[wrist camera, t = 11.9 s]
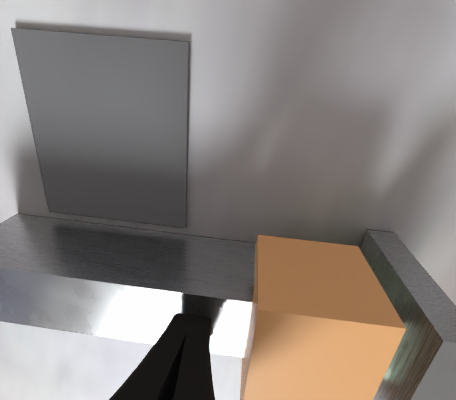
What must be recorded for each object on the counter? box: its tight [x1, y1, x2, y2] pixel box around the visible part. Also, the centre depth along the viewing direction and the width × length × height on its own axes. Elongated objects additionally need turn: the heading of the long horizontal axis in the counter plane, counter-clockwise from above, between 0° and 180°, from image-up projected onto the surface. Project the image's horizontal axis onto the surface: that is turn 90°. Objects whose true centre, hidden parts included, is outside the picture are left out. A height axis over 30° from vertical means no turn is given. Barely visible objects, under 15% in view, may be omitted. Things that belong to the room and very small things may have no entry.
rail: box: [0, 214, 456, 400], centre depth 12 cm, size 19×6×6 cm, turn 86°
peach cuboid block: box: [240, 235, 406, 400], centre depth 11 cm, size 4×6×4 cm, turn 176°
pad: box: [11, 28, 189, 228], centre depth 12 cm, size 7×8×1 cm
